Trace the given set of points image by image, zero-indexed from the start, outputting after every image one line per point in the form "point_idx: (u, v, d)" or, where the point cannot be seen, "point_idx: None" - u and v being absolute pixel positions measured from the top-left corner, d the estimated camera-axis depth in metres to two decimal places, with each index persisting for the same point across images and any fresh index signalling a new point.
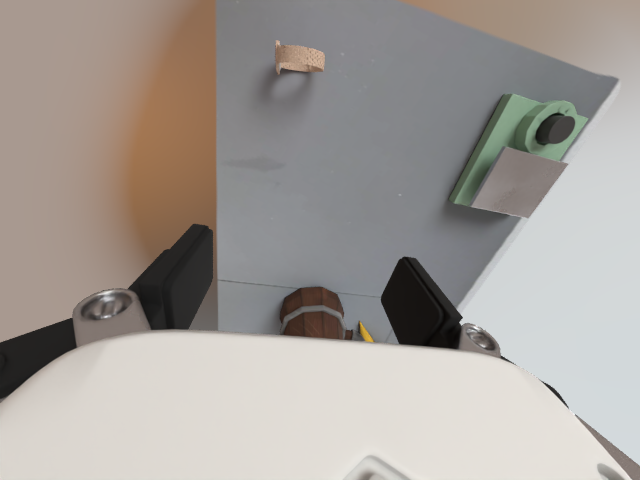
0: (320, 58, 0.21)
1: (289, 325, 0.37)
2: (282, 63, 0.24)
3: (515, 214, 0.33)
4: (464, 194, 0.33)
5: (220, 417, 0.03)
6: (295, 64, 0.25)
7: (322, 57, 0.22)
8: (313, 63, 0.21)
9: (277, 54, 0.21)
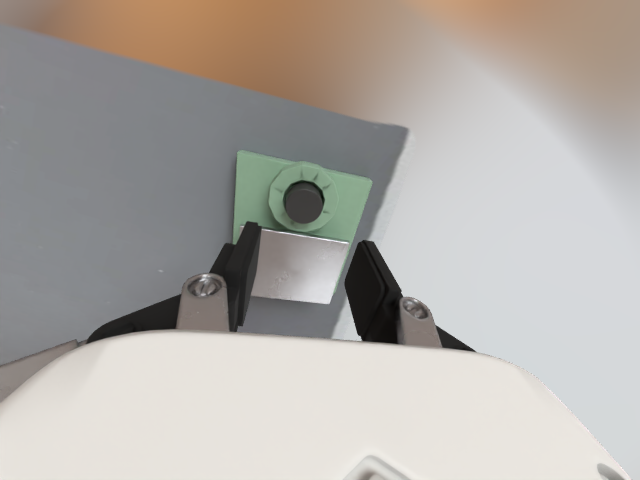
0: None
1: None
2: None
3: (307, 300, 0.24)
4: None
5: (220, 417, 0.03)
6: None
7: None
8: None
9: None
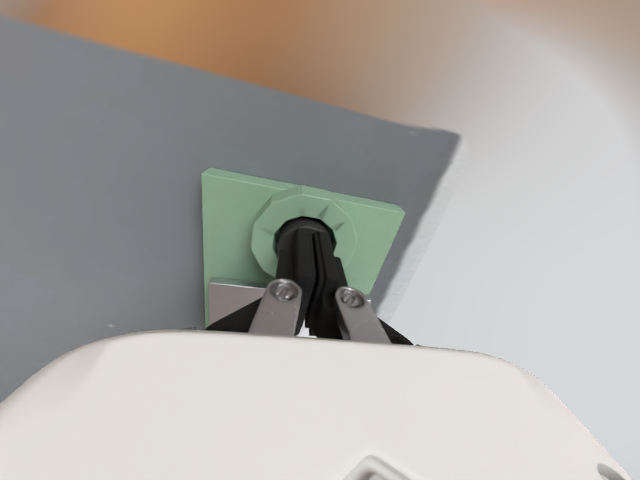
0: None
1: None
2: None
3: None
4: None
5: (220, 417, 0.03)
6: None
7: None
8: None
9: None
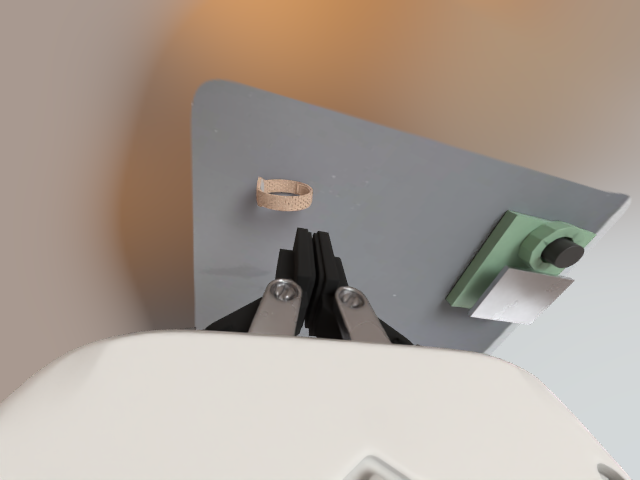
0: (307, 200, 0.19)
1: None
2: (266, 189, 0.21)
3: (516, 321, 0.30)
4: (463, 298, 0.31)
5: (220, 417, 0.03)
6: (281, 186, 0.22)
7: (309, 196, 0.19)
8: (299, 207, 0.19)
9: (258, 197, 0.19)
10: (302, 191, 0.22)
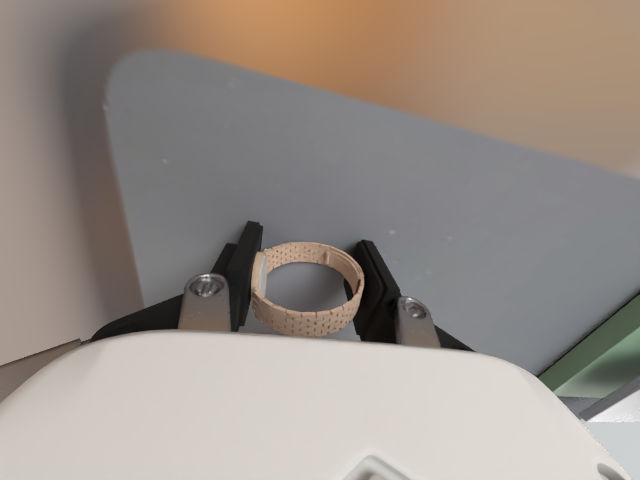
0: (357, 302, 0.09)
1: None
2: (271, 264, 0.11)
3: None
4: (567, 387, 0.20)
5: (220, 417, 0.03)
6: (298, 254, 0.12)
7: (360, 293, 0.09)
8: (342, 325, 0.09)
9: (255, 304, 0.09)
10: (338, 263, 0.12)
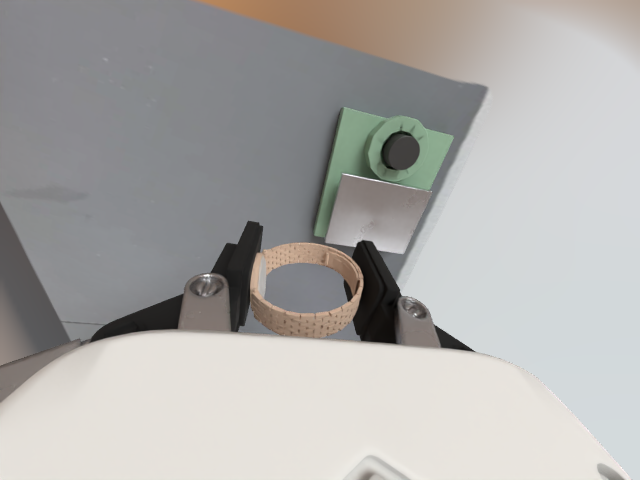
0: (356, 303, 0.09)
1: None
2: (270, 265, 0.11)
3: (385, 250, 0.27)
4: (324, 226, 0.27)
5: (220, 417, 0.03)
6: (297, 255, 0.12)
7: (360, 294, 0.09)
8: (341, 326, 0.09)
9: (254, 305, 0.09)
10: (337, 264, 0.12)
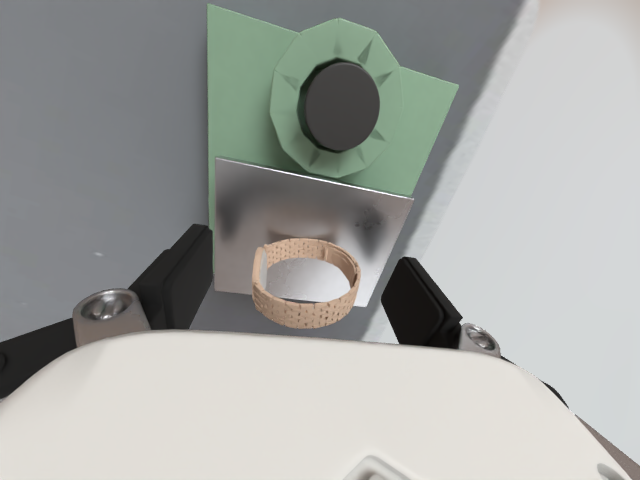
0: (354, 295, 0.10)
1: None
2: (271, 259, 0.12)
3: None
4: None
5: (220, 417, 0.03)
6: (297, 250, 0.13)
7: (357, 286, 0.10)
8: (339, 316, 0.09)
9: (256, 296, 0.09)
10: (336, 259, 0.12)
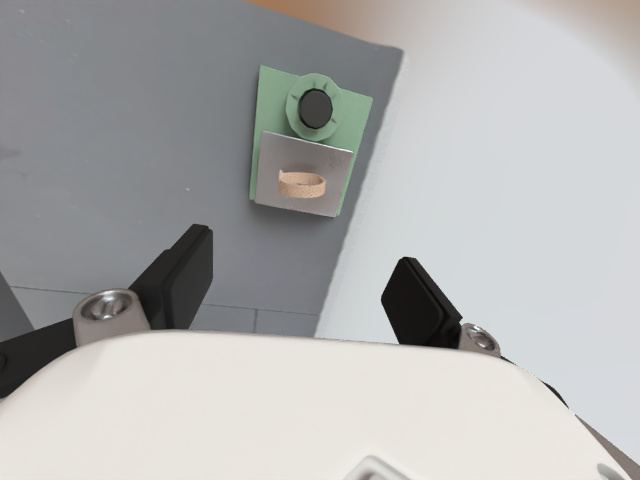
0: (321, 188, 0.22)
1: None
2: (284, 181, 0.25)
3: (316, 212, 0.28)
4: None
5: (220, 417, 0.03)
6: (297, 178, 0.25)
7: (323, 186, 0.23)
8: (315, 195, 0.22)
9: (280, 187, 0.22)
10: (316, 181, 0.25)
